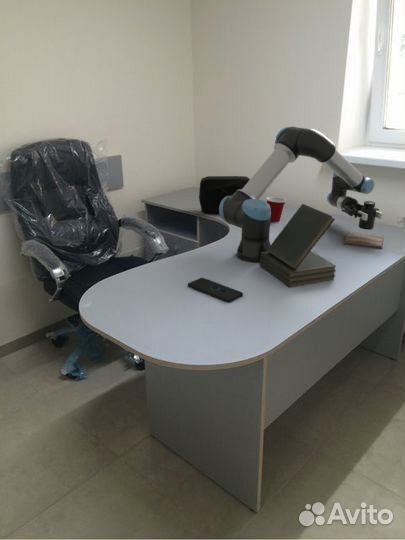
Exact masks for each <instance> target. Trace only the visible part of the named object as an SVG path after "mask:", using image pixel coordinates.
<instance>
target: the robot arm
mask: <svg viewBox="0 0 405 540" xmlns="http://www.w3.org/2000/svg"><path fill="white" fill-rule="evenodd" d="M299 156H301V157H308V158H311V159H315V160H316V161H317V162H319V163H322V164H325V166H326V167H328V168H329V169H330V170H331V171H332V172H333V174H332V182H331V191H330V192H329V193H328V194H327V196H326V201H327V202H328V204H330V205H331V206H332V207H334V208H337V209H339V210H341V212H343V213H345V214H346V215H348V216H349V217H354V219H357V218H362V219H364V220H367V217H368V214H366V213H364V212H361V208H362V207H364V206H363V205H364V204H361V203H359V202H358V200H357V199H356V198H354V197H352V196H349V195H347V192H348V191H351V192H356V193H359V194H362V195H363V194H365V195H369V194H370V193H372V192H373V190H374V188H375V182H374V179H373V178H370V177H366V176H364V174H362V173H361V172H360V171H359V170H358V169H357V168H356V167H355V166H354V165H352V164H351V162H349V160H347V159H346V157H345V156H344V155H342V154H341V153H340V152H339V151H338V150H337V147H336V145H335V143H334V142H332V141H331V140H330V139H329V138H328V137H327V136H325V135H324V134H323V133H322V132H320V131H318V130H316V129H313V128H308V127H307V128H305V127H297V126H286V127H283V128H282V129H280V130H279V131H278V133H277V135H276V136H275V140H274V146H273V151H272V153H271V154H270V155H269V156H268V157H267V159H266V160H265V161H264V162H263V163H262V165H261V166H260V167H259V168H258V169H257V171H256V172H255V173H254V174H253V176H251V178H249V179H250V180H249V182H248V183H247V184H246V185H245V186H244V188H243V189H241V190H237V191H236V192H235V193H234V194H233V195H232V196H227V197H225V198H224V199H223V200H222V201H221V203H220V206H219V214H218V215H219V216H220V219H222V220H223V221H224V222H225V223H227V224H229V225H233V226H235V227H237V228H240V229H241V238H240V240H239V241H240V242H239V244H238V246H237V249H236V256H237V258H238V259H240V260H242V261H244V262H249V263H260V258H261V252H266V251H267V249H268V248H269V247H270V245H271V244H272V243H271V241H270V233H271V232H270V231H271V221H270V219H271V208H270V205H269V204H268V203H267V201H265V200H261V197H262V196H263V195H264V194H265V193H266V191H267V190H268V189H269V188H270V186H271V185H272V184H273V183H274V182H275V181H276V179H277V178H278V177H279V175H280V174H281V173H282V172H283V170H285V168H286V167H287V166H288V164H289V163H294V162H295V161H296V160H298V158H299ZM374 208H375V209H376V217H375V218H377V219H379V220H383V214H384V213H383V212H381V211H379V208H378V207H376V206H375V207H374Z"/></svg>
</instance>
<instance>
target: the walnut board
mask: <svg viewBox="0 0 405 540" xmlns="http://www.w3.org/2000/svg"><path fill="white" fill-rule="evenodd" d="M383 240H384V236H383V235H377V234H369V233H368V234H367V233H359V232H358V233H357V232H350V231H349V232H347V234H346V237H345V240H344V244H343V245H348V246H354V247H355V246H356V247H364V248H373V249H374V248H375V249H382V248H383Z"/></svg>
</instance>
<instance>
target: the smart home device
mask: <svg viewBox="0 0 405 540" xmlns="http://www.w3.org/2000/svg"><path fill="white" fill-rule="evenodd" d="M187 288H190V289H193V290H194V291H196V292H197V291H198V292H200V293H202V294H205V295H207V296H210V297H212V298H214V299H217V300H220V301H222V302H224V303H228V304H230V303H232V302H234V301H237V300H238V299H239V298H242V297H243V295H244V293H243V292H242V291H240V290H237V289H234V288H232V287H229V286H226V285H225V284H221V283H218V282H216V281H212V280H211V279H208V278H205V277H200V278H197V279H195V280H193V281H190V282H188V283H187Z"/></svg>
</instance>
